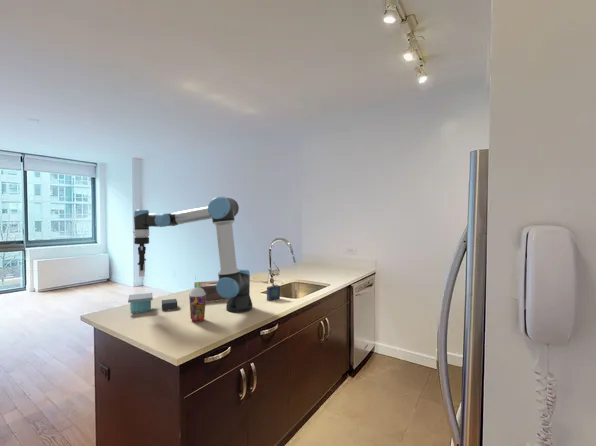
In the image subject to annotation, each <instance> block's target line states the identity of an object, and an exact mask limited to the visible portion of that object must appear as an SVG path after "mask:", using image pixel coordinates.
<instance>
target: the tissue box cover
mask: <svg viewBox="0 0 596 446" xmlns="http://www.w3.org/2000/svg"><path fill="white" fill-rule="evenodd" d="M218 281H219V280H209V281H196V282H194V288H196V287H197V282H198V287H200V288H202V289H204V291H205V293H206V301H207V302H214V301H215V302H217V300H218V301H226V300H227V301H228V299H227V298H223V297H221V296H220V295H219V294H218V292H217V290H216V284H217V282H218ZM194 288H193V289H194Z"/></svg>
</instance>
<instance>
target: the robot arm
mask: <svg viewBox="0 0 596 446" xmlns="http://www.w3.org/2000/svg"><path fill="white" fill-rule="evenodd" d="M239 208H240V207H239V204H238V202H237V201H236V200H235V199H234V198H231V197H225V196H216V197H214V198H212V199H211V200H210V201H209V203H208V204H207V206H202V207H198V208H192V209H186V210H182V211H175V212H171V213H166V212H165V213H163V212H162V213H161V212H157V213H154V212H153V213H150V211H149V210H148V209H136V210H134V214H133V223H134V224H133V225H134V228H133V231H132V233H133V234H134V238H133V239H134V241H133V243H134V244H135V245H139V246H137V252H138V253H137V254H138V263H137V265H138V277H145V272H146V261H147V258H145V256H146V250H147V247H146V246H145V245H148V244H149V243H150V238H149V237H150V227H156V228H157V227H158V228H164V227H176V226H179V225H184V224H189V223H194V222H195V223H196V222H200V221H205V220H206V221H207V220H212V224H213V225H215V229H216V238H217V239H216V240H217V247H218V248H217V249H218V257H219V259H218V260H219V267H220V268H219V269H220V270H219V272H218V273H217V275H218V280H217V281H218V282H217V284H216V290H217V292H218V294H219V295H220V296H221V297H223V298H227V299H228V300H227V302H226V306H225V309H226V311H228V312H230V313H245V312H248V311H251V310H253V308H254V307H253V302H252V299H251V295H250V290H251V289H250V283H251V282H250V281H251V279H250V278H251V274H250V270H248V269H240V268H239V269H238V266H237V265H238V264H237V258H236V249H235V237H234V228H233V224H234V222H235V217H236V216H237V214H238V213H239V212H240V211H239Z"/></svg>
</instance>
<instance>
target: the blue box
mask: <svg viewBox="0 0 596 446" xmlns="http://www.w3.org/2000/svg"><path fill="white" fill-rule="evenodd" d="M280 298H281V285H278V284H275V283H271V286H269V285H268V286H266V301H267V302H271V301H278V300H280Z"/></svg>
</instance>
